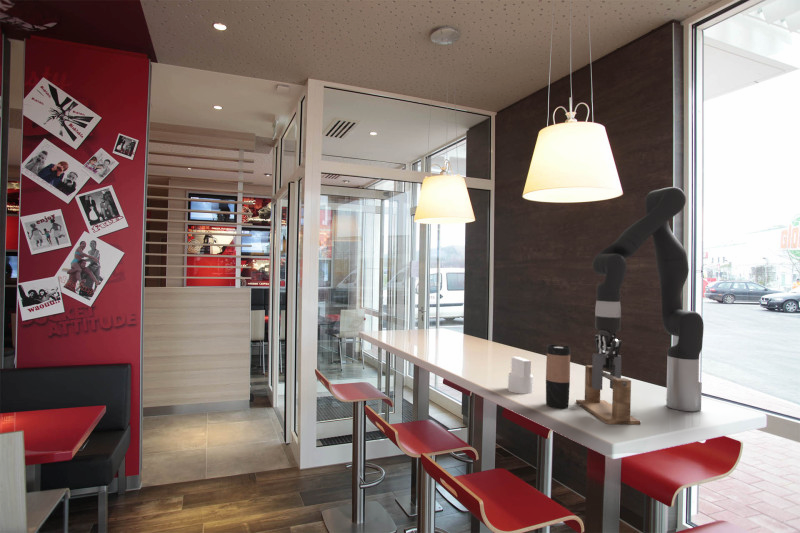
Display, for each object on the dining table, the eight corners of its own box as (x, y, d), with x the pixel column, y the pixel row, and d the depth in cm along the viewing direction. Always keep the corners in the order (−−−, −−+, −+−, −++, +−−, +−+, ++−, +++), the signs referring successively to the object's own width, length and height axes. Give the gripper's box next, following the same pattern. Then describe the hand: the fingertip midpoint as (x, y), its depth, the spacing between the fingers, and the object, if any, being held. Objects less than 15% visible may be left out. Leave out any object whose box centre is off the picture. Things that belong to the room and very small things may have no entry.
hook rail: (604, 403, 158) (605, 365, 158) (639, 424, 136) (640, 380, 136) (576, 402, 158) (576, 365, 158) (607, 423, 136) (608, 380, 136)
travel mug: (553, 409, 149) (555, 348, 149) (540, 403, 156) (542, 344, 156) (574, 408, 151) (575, 348, 151) (560, 401, 158) (561, 344, 158)
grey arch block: (615, 387, 149) (616, 354, 149) (620, 390, 146) (621, 355, 146) (591, 387, 148) (592, 353, 149) (596, 389, 145) (596, 355, 146)
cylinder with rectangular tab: (503, 388, 175) (504, 357, 175) (523, 387, 178) (524, 356, 178) (516, 394, 167) (517, 361, 167) (537, 393, 169) (538, 360, 170)
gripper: (631, 317, 141) (629, 373, 140) (608, 313, 155) (607, 364, 154) (607, 317, 140) (605, 373, 140) (586, 312, 154) (585, 363, 154)
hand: (606, 368), depth 147 cm, fingers closed on grey arch block, 3 cm apart
